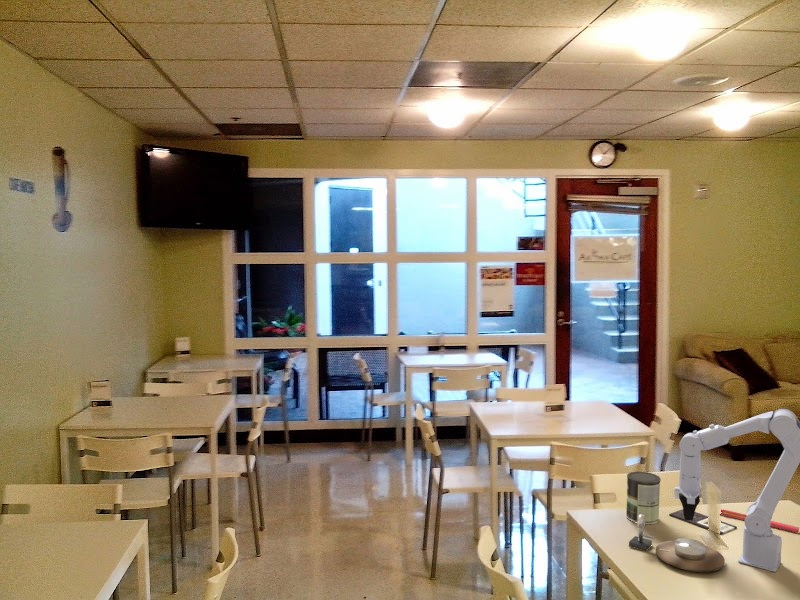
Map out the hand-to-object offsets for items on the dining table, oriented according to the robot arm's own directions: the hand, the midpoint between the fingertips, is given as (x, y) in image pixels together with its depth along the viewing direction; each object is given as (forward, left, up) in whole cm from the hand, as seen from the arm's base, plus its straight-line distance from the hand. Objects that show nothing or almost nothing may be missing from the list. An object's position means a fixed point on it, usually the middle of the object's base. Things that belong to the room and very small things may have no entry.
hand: (688, 519), depth 200 cm
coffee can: (+18, -12, -9) cm, 23 cm away
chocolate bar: (+2, -22, -9) cm, 24 cm away
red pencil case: (-12, -33, -9) cm, 37 cm away
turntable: (-3, +9, -8) cm, 12 cm away
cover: (-3, +9, -7) cm, 11 cm away
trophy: (+11, +9, -8) cm, 16 cm away
